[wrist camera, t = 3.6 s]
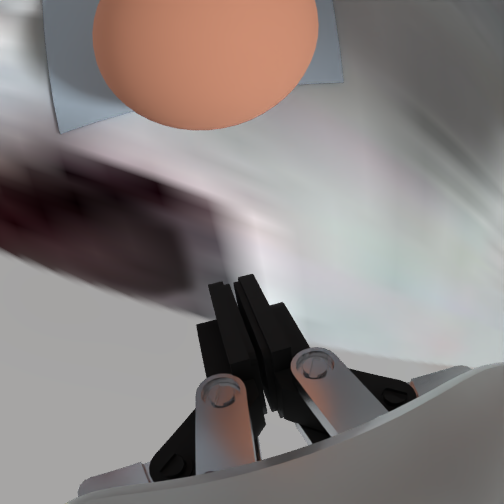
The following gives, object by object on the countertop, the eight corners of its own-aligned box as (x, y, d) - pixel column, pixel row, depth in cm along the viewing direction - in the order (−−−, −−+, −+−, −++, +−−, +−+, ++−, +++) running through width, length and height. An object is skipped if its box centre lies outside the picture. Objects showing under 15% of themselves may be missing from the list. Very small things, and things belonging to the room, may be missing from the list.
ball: (266, -29, 9) (337, -100, 3) (286, 110, 11) (377, 125, 6) (106, -6, 8) (60, -79, 2) (128, 139, 11) (88, 176, 5)
